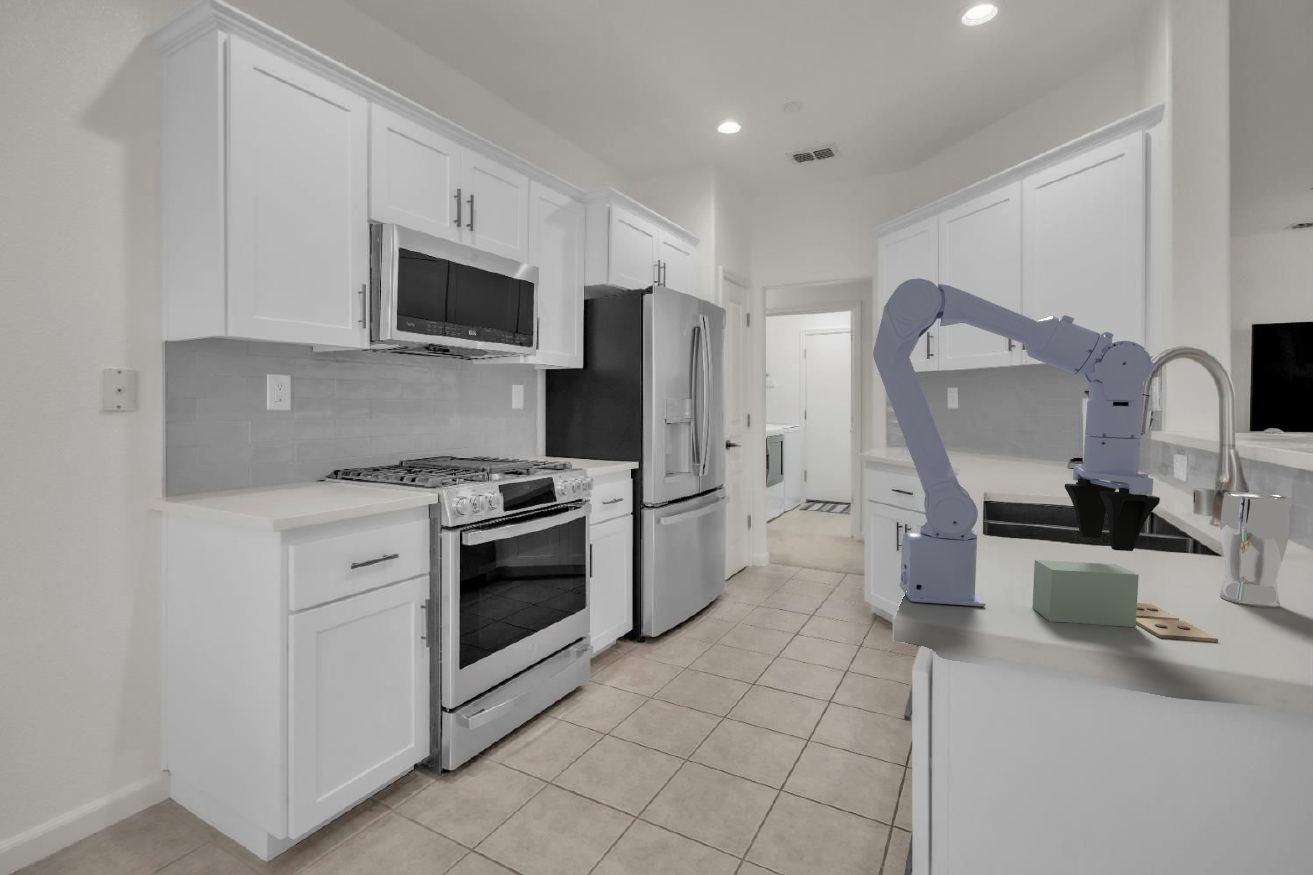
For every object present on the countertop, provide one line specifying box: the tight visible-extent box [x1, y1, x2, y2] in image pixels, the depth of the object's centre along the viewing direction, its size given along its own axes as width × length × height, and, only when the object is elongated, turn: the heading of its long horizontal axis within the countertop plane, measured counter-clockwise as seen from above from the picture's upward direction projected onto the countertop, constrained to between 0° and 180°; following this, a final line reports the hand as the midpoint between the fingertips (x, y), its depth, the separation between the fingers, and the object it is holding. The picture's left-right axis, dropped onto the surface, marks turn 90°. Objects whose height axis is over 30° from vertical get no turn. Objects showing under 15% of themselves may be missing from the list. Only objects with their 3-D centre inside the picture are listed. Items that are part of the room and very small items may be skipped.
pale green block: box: [1032, 559, 1140, 628], centre depth 79 cm, size 10×5×6 cm, turn 80°
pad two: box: [1136, 618, 1219, 643], centre depth 75 cm, size 6×6×1 cm
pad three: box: [1136, 602, 1180, 621], centre depth 82 cm, size 6×6×1 cm
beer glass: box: [1219, 491, 1291, 609], centre depth 87 cm, size 7×7×15 cm
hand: (1105, 543), depth 80 cm, fingers open, 7 cm apart
